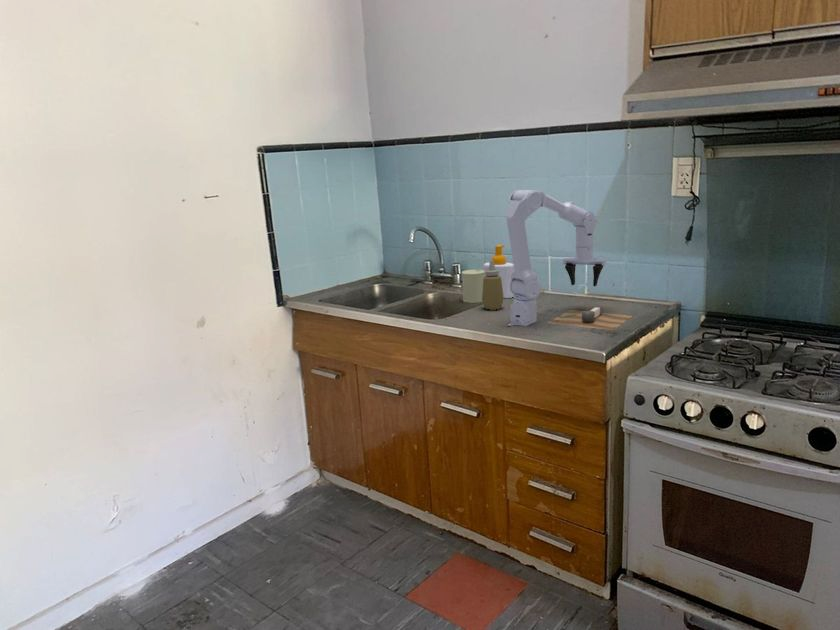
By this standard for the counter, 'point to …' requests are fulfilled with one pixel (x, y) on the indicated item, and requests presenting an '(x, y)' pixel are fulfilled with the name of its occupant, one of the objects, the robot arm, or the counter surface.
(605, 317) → the board
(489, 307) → the squeeze bottle
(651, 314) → the counter surface
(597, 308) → the peg
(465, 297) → the can
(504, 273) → the soap bottle
